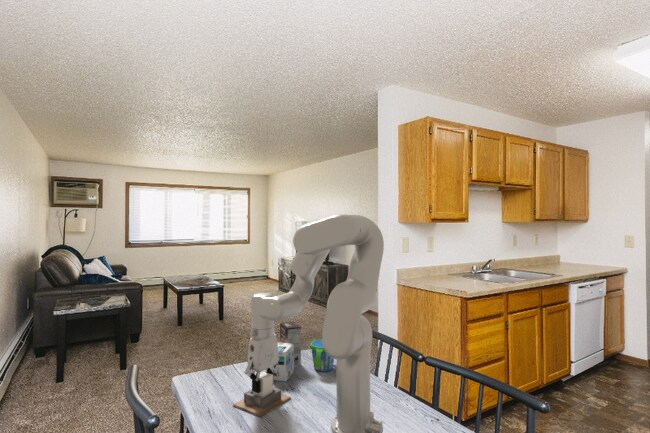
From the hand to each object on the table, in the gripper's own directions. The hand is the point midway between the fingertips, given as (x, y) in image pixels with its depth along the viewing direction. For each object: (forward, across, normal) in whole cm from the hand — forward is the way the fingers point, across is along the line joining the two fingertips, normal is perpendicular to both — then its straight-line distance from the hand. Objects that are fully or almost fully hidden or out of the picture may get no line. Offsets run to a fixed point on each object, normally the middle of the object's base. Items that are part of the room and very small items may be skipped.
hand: (262, 387), depth 117 cm
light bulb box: (+5, +20, +9) cm, 22 cm away
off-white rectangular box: (+4, 0, 0) cm, 4 cm away
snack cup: (+5, +34, -1) cm, 34 cm away
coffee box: (+5, +31, +14) cm, 34 cm away
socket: (+5, 0, 0) cm, 5 cm away
